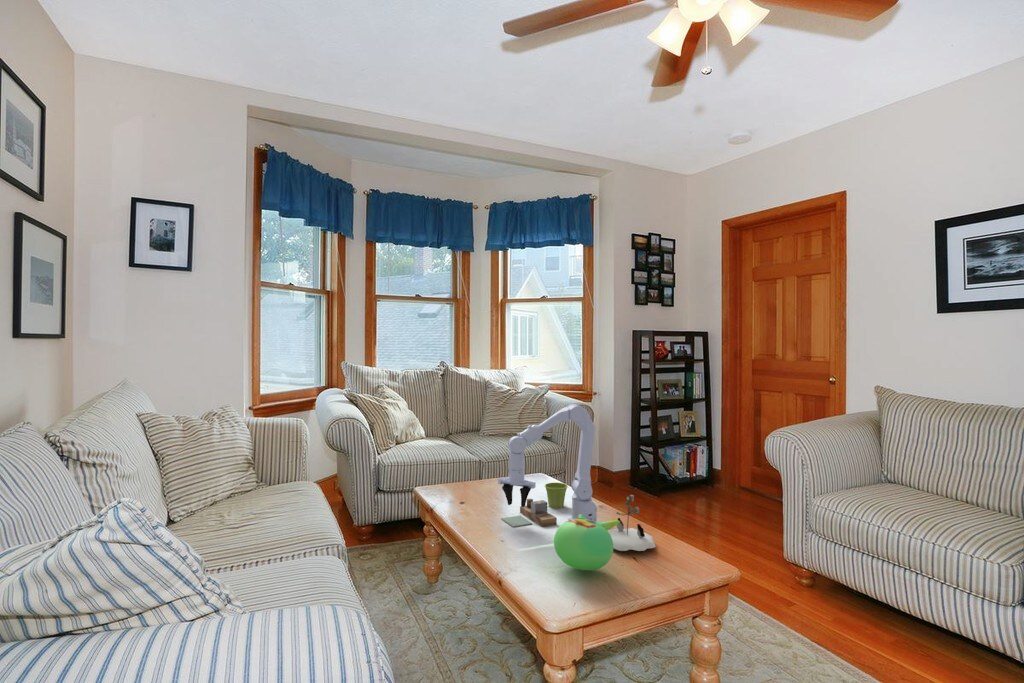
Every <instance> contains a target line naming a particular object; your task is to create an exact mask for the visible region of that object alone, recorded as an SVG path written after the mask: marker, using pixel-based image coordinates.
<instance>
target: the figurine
mask: <svg viewBox="0 0 1024 683" xmlns="http://www.w3.org/2000/svg"><path fill="white" fill-rule="evenodd" d="M634 499H635V494H630V495H629V496H626V502H625V506H626V507H627V513H621V512H619V511H616V513H615V514H616V515H620V516H625V517H626V516H627V520H626V521H627V523H626V524H627V526H626V528H625V524H624V523H623V520H621V518H620V517H619V518H617V520H619V521H620V523H619V524H618V525H616V528H610V529H609V530H607V531H608V532H609V533H610V535H611V537H612V540H613V546H614V548H613V550H616V551H620V552H626V551H629V550H633V551H638V552H641V551H643V552H644V551H646V550H647V549H654V548H656V547H657V546H656V544H655V540H654V537H653V536H652V535H650V534H648V533H646V532H645V531H644V528H643V527H642V526H641V524H639V523H637V524H636V526H637V527H636V528H633V527H630V528H629V521H630V520H629V518H630V514H631V515H632V514H633V515H637V514H638V515H639V514H640V508H639V507H638V506H635V507H632V506H631V504H630V502H634ZM630 511H631V512H630Z"/></svg>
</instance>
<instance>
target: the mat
mask: <svg viewBox="0 0 1024 683" xmlns="http://www.w3.org/2000/svg"><path fill="white" fill-rule="evenodd" d="M501 521H503V522H504V523H506V524H507V525H509V526H510V527H511V528H517V527H525V526H529V525H533V522H531V521H530V520H528V518H525V517H523V516H522V515H514V516H507V517H501Z"/></svg>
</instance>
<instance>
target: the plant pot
mask: <svg viewBox="0 0 1024 683" xmlns="http://www.w3.org/2000/svg"><path fill="white" fill-rule="evenodd" d="M544 488H545V491H546V497H547V506H548V507H549V508H553V509H561V508H564V507H565V497H566V491H567V489H568V488H569V487H568V484H566V483H562V482H548V483H545V484H544Z"/></svg>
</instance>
